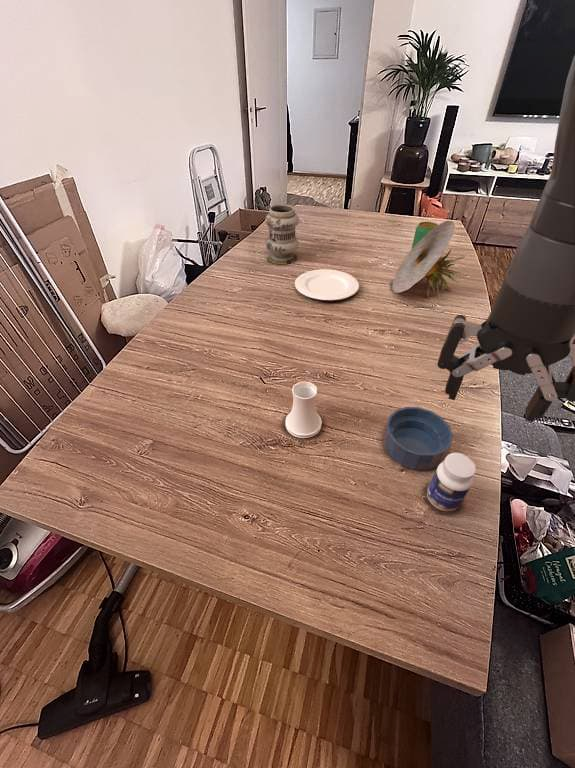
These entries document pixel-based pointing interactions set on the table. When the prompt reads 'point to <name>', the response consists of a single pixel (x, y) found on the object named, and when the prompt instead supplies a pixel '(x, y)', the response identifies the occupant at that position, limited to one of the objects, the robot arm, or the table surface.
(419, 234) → the beverage can
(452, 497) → the pill bottle
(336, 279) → the plate
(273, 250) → the apothecary jar
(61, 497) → the table surface
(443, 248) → the potted plant
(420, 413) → the bowl
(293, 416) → the vase
